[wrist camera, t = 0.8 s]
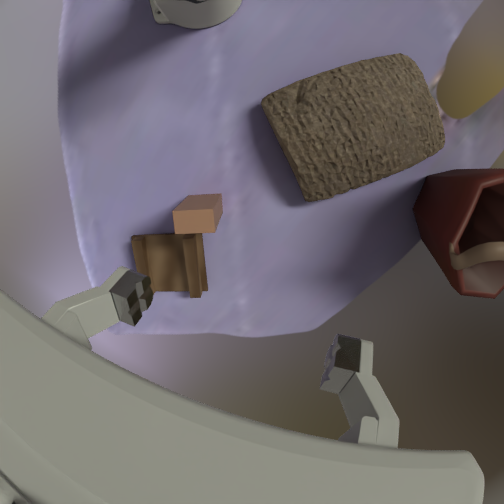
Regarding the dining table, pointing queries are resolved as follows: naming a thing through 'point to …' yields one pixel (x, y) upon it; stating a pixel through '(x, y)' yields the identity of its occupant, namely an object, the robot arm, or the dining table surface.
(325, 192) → the stone tablet
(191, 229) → the clay block
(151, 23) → the dining table surface
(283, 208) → the dining table surface
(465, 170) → the bucket
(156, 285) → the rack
